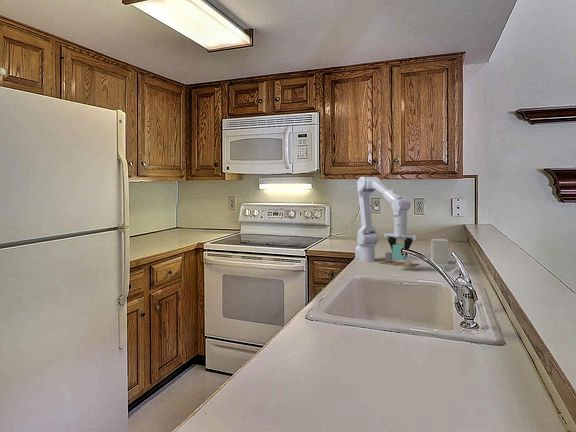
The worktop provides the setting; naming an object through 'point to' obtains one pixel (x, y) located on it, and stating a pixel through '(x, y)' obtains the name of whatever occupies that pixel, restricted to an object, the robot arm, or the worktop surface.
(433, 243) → the supplement box
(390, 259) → the post
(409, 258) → the post
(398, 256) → the aqua toy cube
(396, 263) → the walnut board
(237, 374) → the worktop surface
